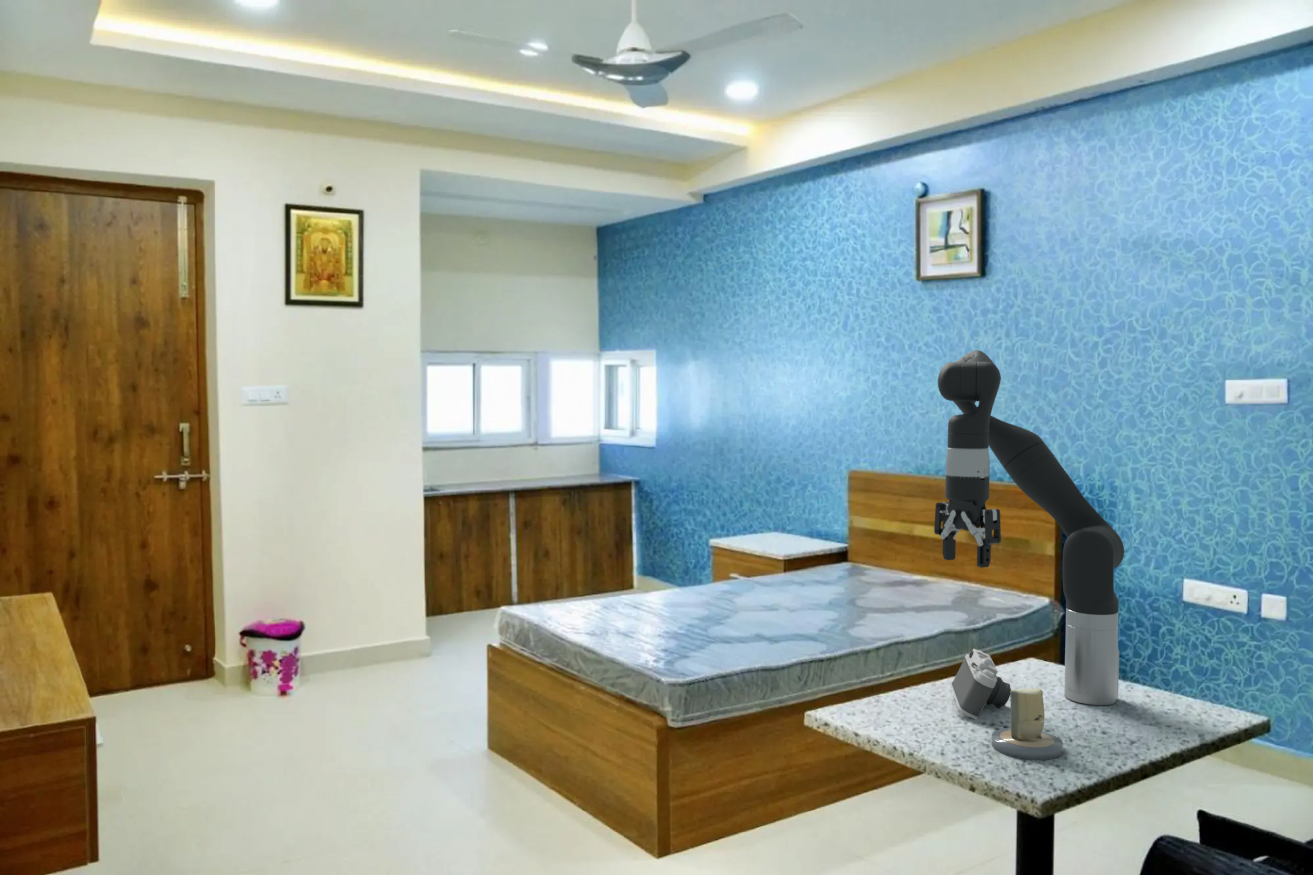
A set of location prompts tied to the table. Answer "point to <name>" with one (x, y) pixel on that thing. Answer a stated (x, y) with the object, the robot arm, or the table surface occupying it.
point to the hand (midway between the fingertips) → (965, 563)
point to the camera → (978, 685)
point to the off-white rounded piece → (1027, 714)
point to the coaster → (1027, 746)
